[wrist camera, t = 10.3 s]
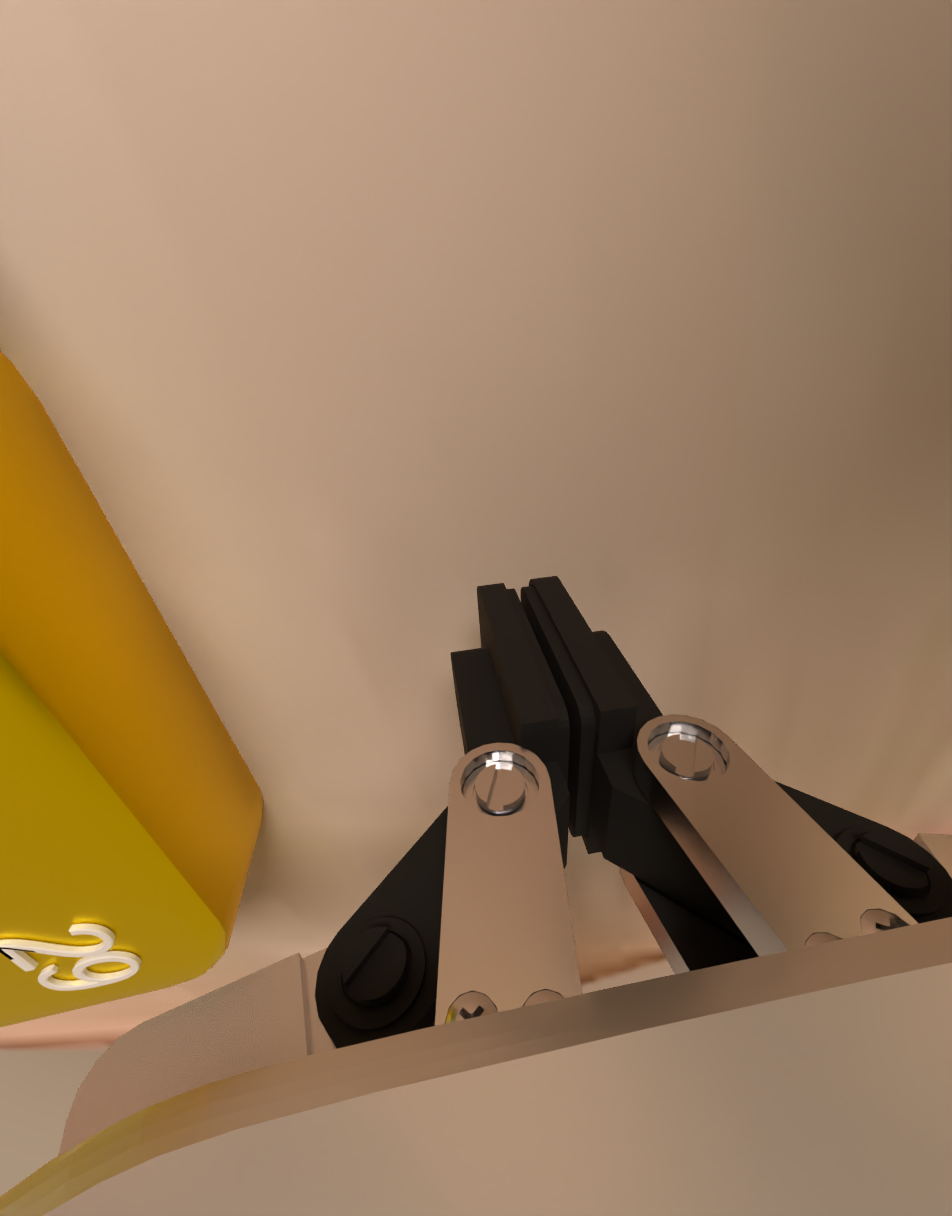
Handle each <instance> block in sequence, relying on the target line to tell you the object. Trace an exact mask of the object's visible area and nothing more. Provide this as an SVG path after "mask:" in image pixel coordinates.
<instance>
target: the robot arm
mask: <svg viewBox="0 0 952 1216" xmlns="http://www.w3.org/2000/svg"><path fill="white" fill-rule="evenodd" d="M477 598H478V610H479V623H480V635H481V647H482V648H478V649H471V650H465V651H458V652H451V661H452V670H453V678H454V685H455V693H456V700H457V707H458V714H459V720H460V727H461V733H462V739H463V745H464V752H465V756H464V757H462V758H461V759H460V760H459V762H458V763H457V765H456V766H455V768H454V769H453V772H452V776H451V780H450V786H449V802H448V806H447V808H446V809H445V810H444V811H443V812H442V813H441V814H440V816H439V817H438V818H437V819H436V820H435V821H434V823H433V824H432V825H431V826H430V827H429V828H428V829H427V831H426V832H425V833H424V834H423V835H422V836H421V837H420V839H419V840H418V841H417V842H416V843H415V844H414V846H413V847H412V848H411V849H410V850H409V851H408V852H407V854H406V855H405V856H404V857H403V858H402V859H401V860H400V862H399V863H398V864H397V865H396V866H395V867H394V869H393V870H392V871H391V872H390V873H389V874H388V875H387V877H386V878H385V879H384V880H383V881H382V882H381V883H380V885H379V886H378V887H377V888H376V889H375V890H374V892H373V893H372V894H371V895H370V896H369V897H368V898H367V900H366V901H365V902H364V903H363V904H362V905H361V906H360V908H359V909H358V910H357V911H356V912H355V913H354V915H353V916H352V917H351V918H350V919H349V920H348V921H347V923H346V924H345V925H344V926H343V927H342V928H341V929H340V931H339V932H338V933H337V935H336V936H335V938H334V939H333V940H332V942H331V943H330V945H329V946H328V948H325V949H323V950H321V951H319V952H317V953H314V954H312V955H310V956H308V957H306V958H303V959H302V957H301V955H300V954H299V953H297V954H295V955H293V956H290V957H288V958H286V959H284V960H281V961H279V962H277V963H275V964H273V965H270V966H268V967H266V968H264V969H261V970H259V971H257V972H255V973H252V974H250V975H248V976H246V977H243V978H241V979H239V980H237V981H235V982H232V983H230V984H228V985H226V986H223V987H221V988H219V989H217V990H214V991H212V992H210V993H208V994H206V995H203V996H201V997H199V998H197V999H194V1000H192V1001H190V1002H188V1003H185V1004H183V1005H181V1006H179V1007H176V1008H174V1009H172V1010H170V1011H168V1012H165V1013H163V1014H161V1015H159V1016H156V1017H154V1018H152V1019H150V1020H147V1021H145V1022H143V1023H141V1024H140V1025H138V1026H137V1027H135V1028H133V1029H132V1030H130V1031H129V1032H127V1033H126V1034H124V1035H122V1036H121V1037H119V1038H118V1039H117V1040H116V1041H115V1042H114V1043H113V1044H112V1045H111V1046H110V1047H109V1048H108V1049H107V1050H106V1052H105V1053H104V1054H103V1055H102V1056H101V1057H100V1058H99V1059H98V1060H97V1061H96V1062H95V1064H94V1065H93V1067H92V1068H91V1070H90V1072H89V1073H88V1075H87V1076H86V1078H85V1079H84V1081H83V1082H82V1084H81V1086H80V1087H79V1088H78V1091H77V1093H76V1096H75V1099H74V1101H73V1104H72V1107H71V1109H70V1112H69V1115H68V1117H67V1120H66V1124H65V1129H64V1133H63V1138H62V1142H61V1147H60V1151H59V1155H58V1157H56V1158H54V1159H53V1160H51V1161H50V1162H48V1163H47V1164H45V1165H44V1166H42V1167H41V1168H40V1169H38V1170H37V1171H36V1172H34V1173H33V1174H31V1175H30V1176H28V1177H27V1178H26V1179H24V1180H23V1181H21V1182H20V1183H19V1184H17V1185H16V1186H14V1187H13V1188H12V1189H10V1190H9V1191H8V1192H6V1193H5V1194H3V1195H2V1196H0V1216H952V835H944V834H922V833H918V834H917V836H916V837H915V839H914V840H911V839H910V838H908V837H906V836H904V835H902V834H900V833H898V832H896V831H895V830H893V829H891V828H889V827H886V826H884V825H881V824H879V823H876V822H874V821H871V820H869V819H867V818H864V817H862V816H859V815H857V814H854V813H852V812H849V811H847V810H844V809H842V808H840V807H837V806H835V805H832V804H830V803H827V802H825V801H822V800H820V799H817V798H815V797H813V796H810V795H808V794H805V793H803V792H800V791H798V790H795V789H793V788H790V787H788V786H786V785H783V784H781V783H778V782H776V781H773V780H772V779H771V778H770V777H769V776H768V775H767V774H766V773H765V772H764V771H763V770H762V769H761V768H760V767H759V766H758V765H757V764H756V763H755V762H754V761H753V760H752V759H751V758H750V757H749V756H748V755H747V754H746V753H745V752H744V751H743V750H742V749H741V748H740V747H739V746H738V745H737V744H736V743H735V742H734V741H733V740H732V739H731V738H730V737H729V736H728V735H726V734H725V733H724V732H722V731H721V730H720V729H719V728H717V727H716V726H714V725H712V724H710V723H708V722H706V721H704V720H701V719H698V718H694V717H690V716H687V715H673V714H672V715H665V716H663V715H662V713H661V712H660V710H659V709H658V707H657V706H656V704H655V703H654V701H653V700H652V698H651V697H650V695H649V694H648V692H647V691H646V689H645V688H644V686H643V685H642V683H641V682H640V680H639V679H638V677H637V676H636V674H635V673H634V671H633V670H632V668H631V667H630V665H629V664H628V662H627V661H626V659H625V658H624V656H623V655H622V653H621V652H620V650H619V649H618V647H617V646H616V644H615V643H614V641H613V640H612V638H611V637H610V636H609V634H608V633H607V632H605V631H596V632H592V631H591V629H590V628H589V626H588V625H587V623H586V621H585V620H584V618H583V617H582V615H581V613H580V612H579V610H578V608H577V607H576V605H575V604H574V602H573V600H572V599H571V597H570V596H569V594H568V592H567V591H566V589H565V588H564V586H563V584H562V583H561V581H560V580H559V578H558V577H557V576H552V577H545V578H537V579H531V580H530V582H529V587H522V588H521V602H520V600H519V597H518V595H517V593H516V591H515V589H506V587H505V585H504V583H500V584H492V585H485V586H477ZM568 827H569V830H570V833H571V834H572V836H573V837H577V836H582V838H583V841H584V843H585V846H586V849H587V852H588V854H591V853H596V852H602V854H603V857H604V858H605V859H607V860H608V861H610V862H612V863H613V864H615V865H617V866H619V870H620V874H621V877H622V879H623V882H624V884H625V886H626V888H627V890H628V891H629V893H630V895H631V897H632V898H633V900H634V902H635V904H636V905H637V907H638V909H639V911H640V913H641V914H642V916H643V918H644V920H645V921H646V923H647V925H648V927H649V929H650V930H651V932H652V934H653V936H654V937H655V939H656V941H657V943H658V944H659V946H660V948H661V950H662V952H663V953H664V955H665V957H666V959H667V960H668V962H669V964H670V966H671V968H672V969H673V971H674V973H675V975H670V976H665V977H661V978H656V979H651V980H646V981H642V982H637V983H633V984H627V985H623V986H619V987H613V988H609V989H604V990H599V991H595V992H590V993H586V994H582V988H581V981H580V974H579V968H578V961H577V955H576V948H575V941H574V935H573V928H572V921H571V915H570V908H569V901H568V895H567V888H566V882H565V875H564V868H565V867H566V864H567V844H568Z"/></svg>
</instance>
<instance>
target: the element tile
mask: <svg viewBox="0 0 952 1216" xmlns="http://www.w3.org/2000/svg"><path fill="white" fill-rule="evenodd" d="M262 814H263V799H262V795H261V792H260V788H259V787H258V785H257V783H256V781H255V780H254V778H253V776H252V774H251V772H250V771H249V769H248V767H247V765H246V764H245V762H244V760H243V758H242V757H241V755H240V753H239V751H238V750H237V748H236V746H235V744H234V742H233V741H232V739H231V737H230V735H229V734H228V732H227V730H226V728H225V727H224V725H223V723H222V721H221V720H220V718H219V716H218V714H217V712H216V711H215V709H214V707H213V705H212V704H211V702H210V700H209V698H208V697H207V695H206V693H205V691H204V690H203V688H202V686H201V684H200V682H199V681H198V679H197V677H196V675H195V674H194V672H193V670H192V668H191V667H190V665H189V663H188V661H187V660H186V658H185V656H184V654H183V653H182V651H181V649H180V647H179V645H178V644H177V642H176V640H175V638H174V637H173V635H172V633H171V631H170V630H169V628H168V626H167V624H166V623H165V621H164V619H163V617H162V615H161V614H160V612H159V610H158V608H157V607H156V605H155V603H154V601H153V600H152V598H151V596H150V594H149V593H148V591H147V589H146V587H145V585H144V584H143V582H142V580H141V578H140V577H139V575H138V573H137V571H136V570H135V568H134V566H133V564H132V563H131V561H130V559H129V557H128V555H127V554H126V552H125V550H124V548H123V547H122V545H121V543H120V541H119V540H118V538H117V536H116V534H115V533H114V531H113V529H112V527H111V525H110V524H109V522H108V520H107V518H106V517H105V515H104V513H103V511H102V510H101V508H100V506H99V504H98V503H97V501H96V499H95V497H94V496H93V494H92V492H91V490H90V488H89V487H88V485H87V483H86V481H85V480H84V478H83V476H82V474H81V473H80V471H79V469H78V467H77V466H76V464H75V462H74V460H73V458H72V457H71V455H70V453H69V451H68V450H67V448H66V446H65V444H64V443H63V441H62V439H61V437H60V436H59V434H58V432H57V430H56V428H55V427H54V425H53V423H52V421H51V420H50V418H49V416H48V414H47V413H46V411H45V409H44V407H43V406H42V404H41V402H40V401H39V399H38V398H37V397H36V395H35V394H34V392H33V391H32V390H31V388H30V387H29V386H28V384H27V383H26V381H25V380H24V379H23V377H22V376H21V375H20V373H19V372H18V370H17V369H16V368H15V366H14V365H13V364H12V363H11V362H10V361H9V360H8V359H7V358H6V357H5V356H4V355H3V354H2V353H1V352H0V1027H4V1026H8V1025H12V1024H17V1023H21V1022H25V1021H29V1020H33V1019H38V1018H42V1017H46V1016H50V1015H55V1014H59V1013H63V1012H67V1011H71V1010H76V1009H80V1008H84V1007H88V1006H92V1005H97V1004H101V1003H105V1002H109V1001H114V1000H118V999H122V998H126V997H130V996H135V995H139V994H143V993H147V992H152V991H156V990H160V989H164V988H168V987H171V986H174V985H177V984H180V983H183V982H186V981H189V980H192V979H194V978H196V977H198V976H200V975H202V974H204V973H205V972H206V971H207V970H208V969H210V968H212V967H213V966H214V965H215V964H216V962H217V961H218V960H219V959H220V958H221V956H222V955H223V954H224V953H225V951H226V949H227V947H228V945H229V941H230V938H231V934H232V930H233V926H234V923H235V919H236V915H237V912H238V908H239V904H240V900H241V897H242V893H243V889H244V885H245V882H246V878H247V874H248V870H249V867H250V863H251V859H252V855H253V852H254V848H255V844H256V840H257V837H258V833H259V829H260V825H261V822H262Z"/></svg>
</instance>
